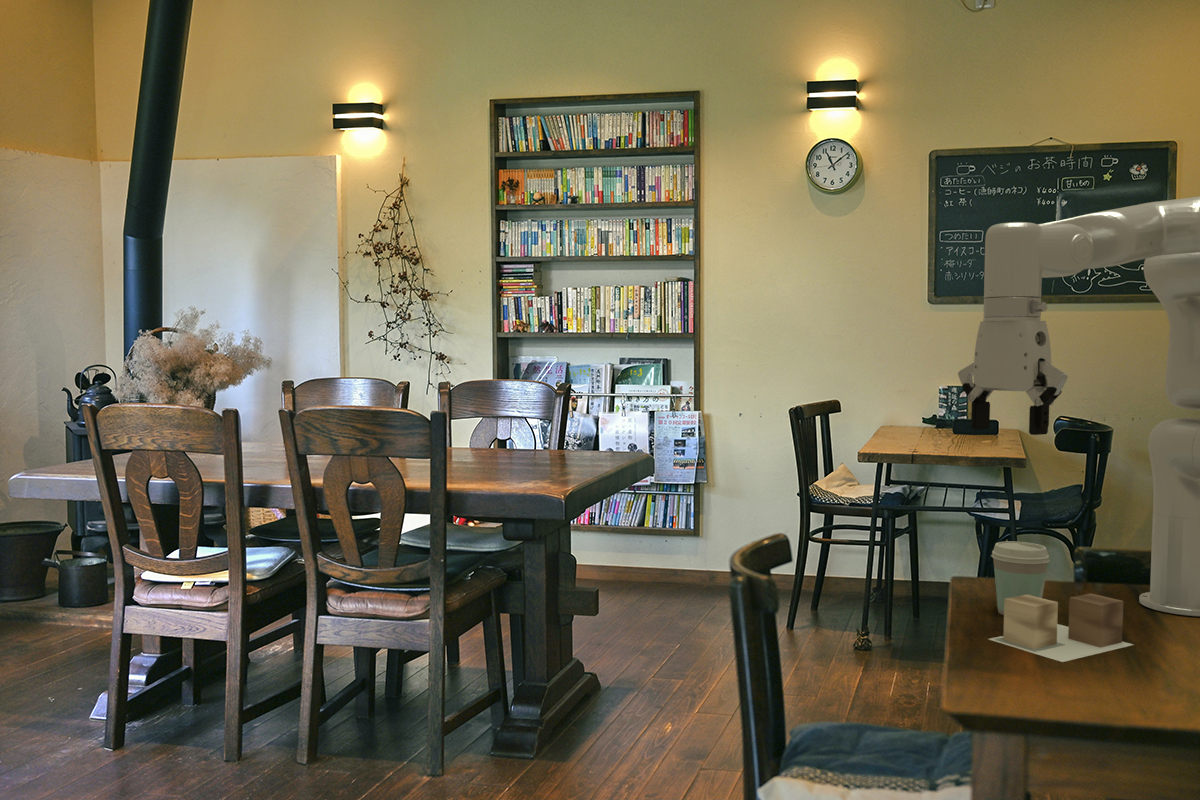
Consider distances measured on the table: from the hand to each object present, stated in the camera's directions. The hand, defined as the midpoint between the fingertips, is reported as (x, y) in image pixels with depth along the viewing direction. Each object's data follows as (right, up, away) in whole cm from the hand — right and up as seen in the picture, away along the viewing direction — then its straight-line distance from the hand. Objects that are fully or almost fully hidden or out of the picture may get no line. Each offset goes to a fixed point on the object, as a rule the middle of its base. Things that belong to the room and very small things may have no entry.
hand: (1008, 431), depth 143 cm
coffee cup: (+8, -31, +16) cm, 35 cm away
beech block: (+3, -30, 0) cm, 30 cm away
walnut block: (+13, -30, +1) cm, 33 cm away
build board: (+8, -31, 0) cm, 32 cm away
